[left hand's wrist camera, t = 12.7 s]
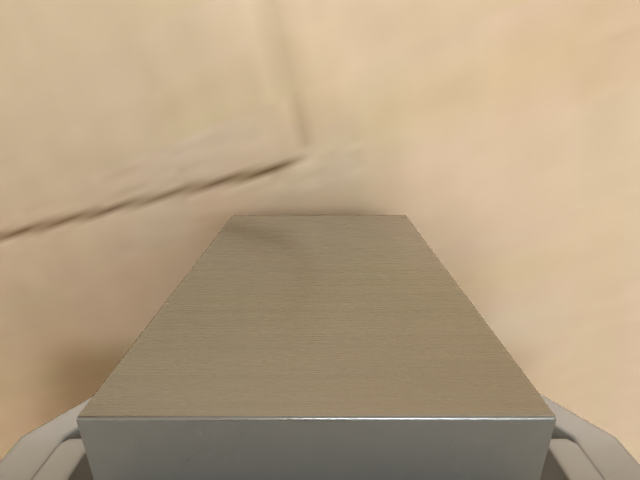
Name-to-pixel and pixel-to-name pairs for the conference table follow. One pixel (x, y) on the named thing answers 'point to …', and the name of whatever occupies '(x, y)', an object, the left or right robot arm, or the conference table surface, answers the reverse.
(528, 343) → the conference table surface
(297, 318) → the bar
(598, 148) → the conference table surface
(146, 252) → the conference table surface
